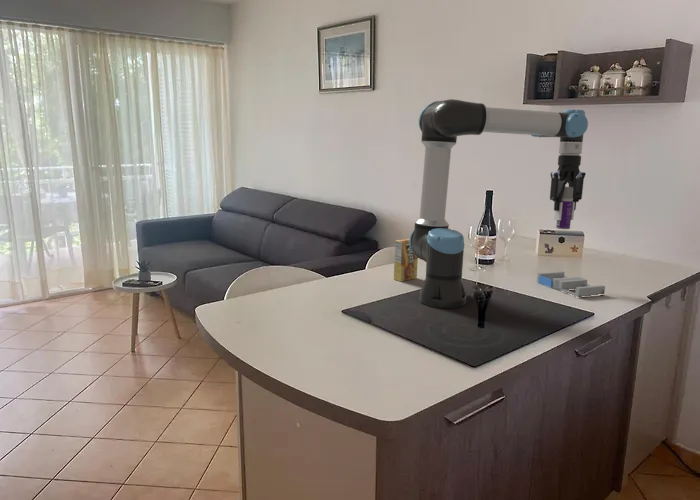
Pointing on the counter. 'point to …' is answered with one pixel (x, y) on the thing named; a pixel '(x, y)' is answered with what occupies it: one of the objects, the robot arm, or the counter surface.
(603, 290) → the grey and blue rack
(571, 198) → the container
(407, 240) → the candy box
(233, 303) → the counter surface
